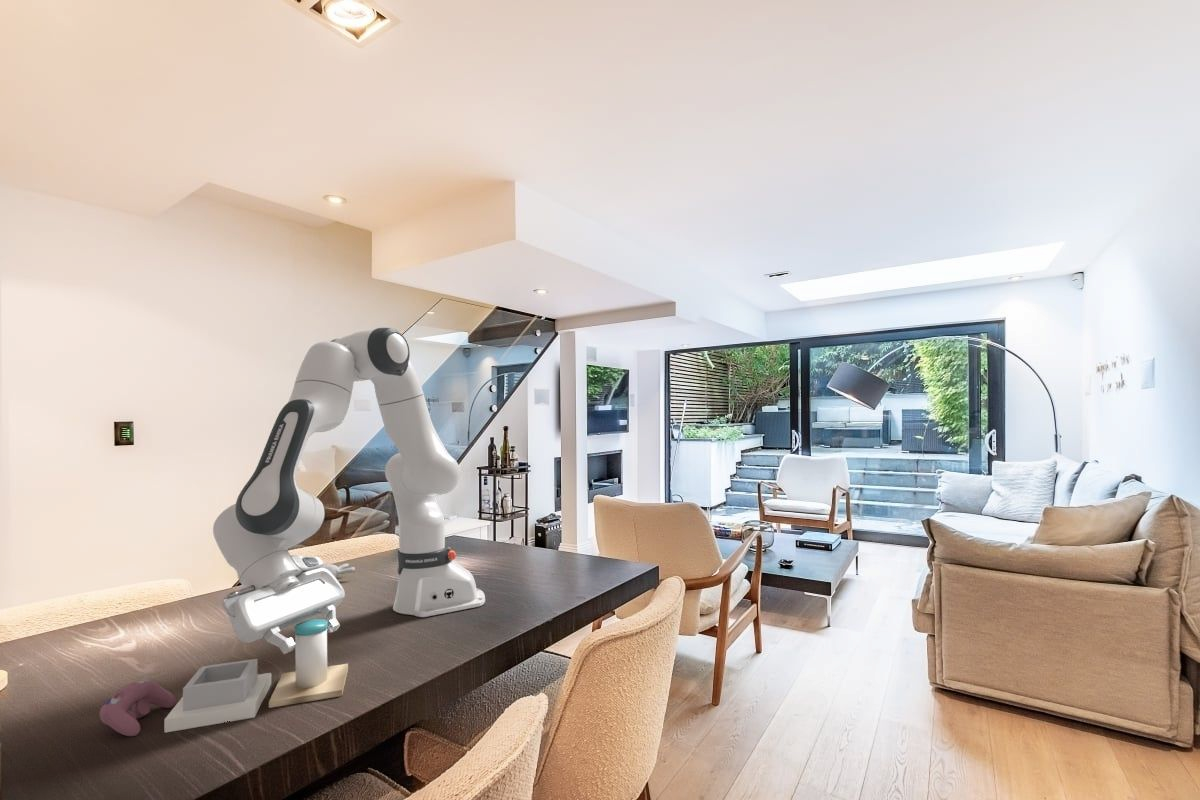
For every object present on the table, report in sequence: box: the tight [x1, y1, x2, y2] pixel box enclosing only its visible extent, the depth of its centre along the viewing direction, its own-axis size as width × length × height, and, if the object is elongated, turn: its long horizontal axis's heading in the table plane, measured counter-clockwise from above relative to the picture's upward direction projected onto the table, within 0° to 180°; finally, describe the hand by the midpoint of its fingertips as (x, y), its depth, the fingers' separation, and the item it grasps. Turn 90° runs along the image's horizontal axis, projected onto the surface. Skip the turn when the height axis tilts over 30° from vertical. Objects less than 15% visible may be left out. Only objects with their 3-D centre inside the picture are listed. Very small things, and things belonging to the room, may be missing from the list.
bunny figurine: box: [321, 563, 356, 580], centre depth 163 cm, size 10×5×15 cm
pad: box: [268, 663, 349, 709], centre depth 99 cm, size 11×11×1 cm
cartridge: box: [294, 618, 328, 688], centre depth 100 cm, size 5×5×10 cm
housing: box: [163, 658, 272, 733], centre depth 93 cm, size 12×12×6 cm
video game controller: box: [99, 678, 176, 737], centre depth 89 cm, size 10×5×7 cm, turn 6°
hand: (313, 639), depth 99 cm, fingers open, 8 cm apart
